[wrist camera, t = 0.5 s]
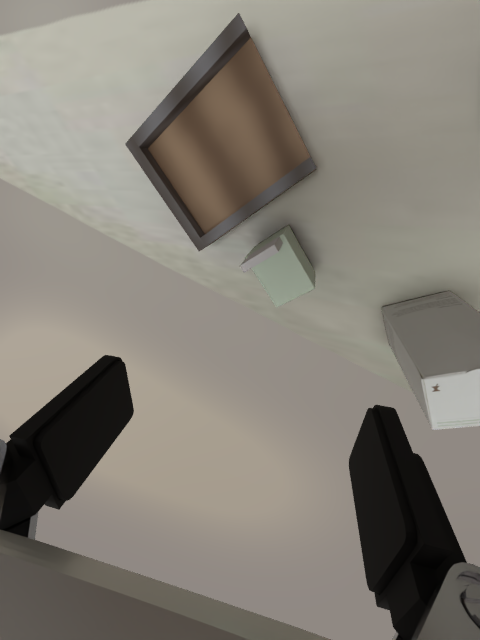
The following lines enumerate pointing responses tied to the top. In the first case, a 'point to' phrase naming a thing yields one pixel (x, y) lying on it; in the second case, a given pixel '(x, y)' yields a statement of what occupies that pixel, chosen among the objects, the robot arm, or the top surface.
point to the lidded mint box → (281, 267)
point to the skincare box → (439, 356)
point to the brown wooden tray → (221, 140)
